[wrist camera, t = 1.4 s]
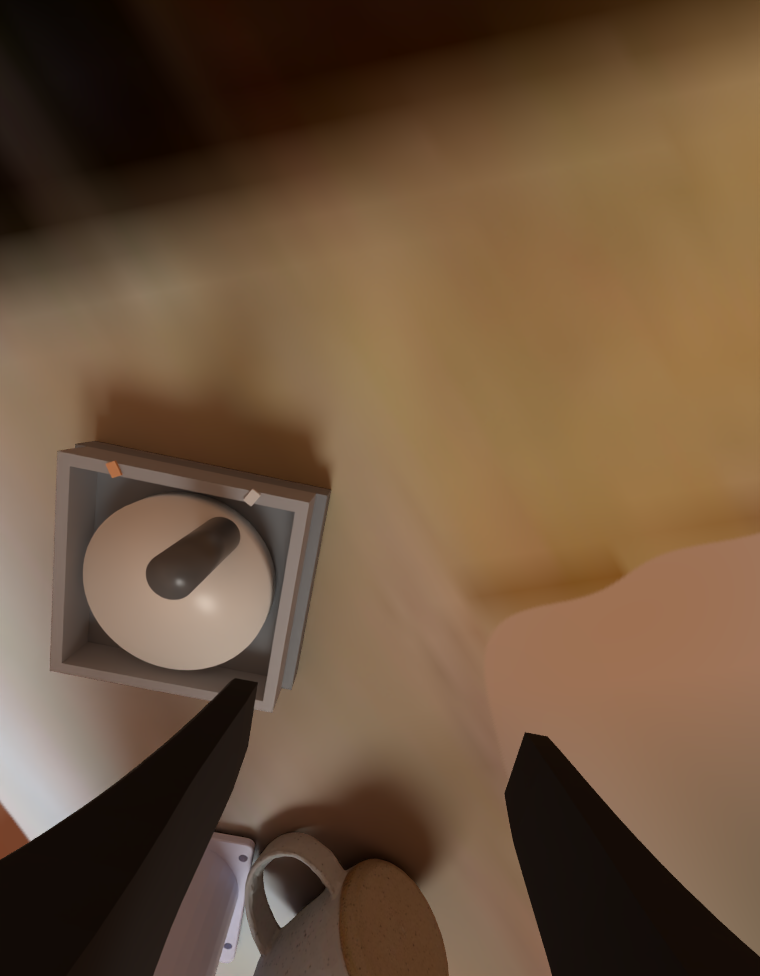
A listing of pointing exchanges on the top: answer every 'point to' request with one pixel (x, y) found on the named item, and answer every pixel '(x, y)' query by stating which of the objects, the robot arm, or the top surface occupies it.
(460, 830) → the top surface
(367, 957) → the ceramic mug
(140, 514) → the dial
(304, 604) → the dial plate
